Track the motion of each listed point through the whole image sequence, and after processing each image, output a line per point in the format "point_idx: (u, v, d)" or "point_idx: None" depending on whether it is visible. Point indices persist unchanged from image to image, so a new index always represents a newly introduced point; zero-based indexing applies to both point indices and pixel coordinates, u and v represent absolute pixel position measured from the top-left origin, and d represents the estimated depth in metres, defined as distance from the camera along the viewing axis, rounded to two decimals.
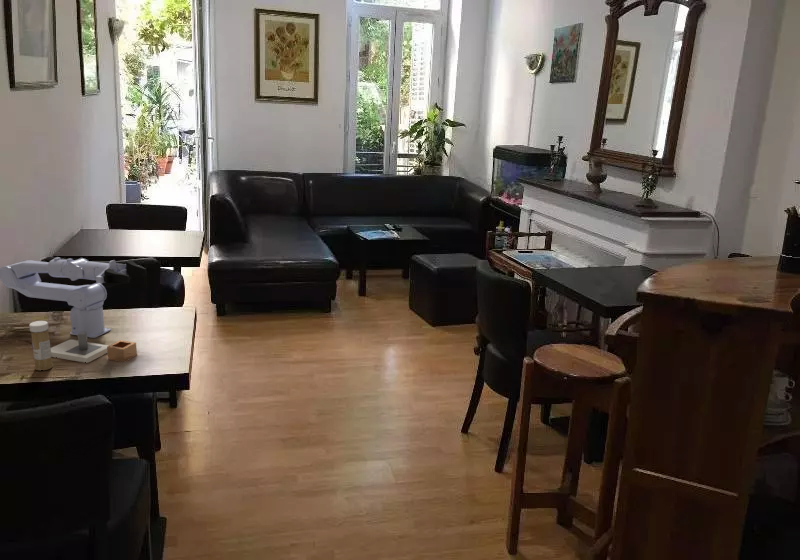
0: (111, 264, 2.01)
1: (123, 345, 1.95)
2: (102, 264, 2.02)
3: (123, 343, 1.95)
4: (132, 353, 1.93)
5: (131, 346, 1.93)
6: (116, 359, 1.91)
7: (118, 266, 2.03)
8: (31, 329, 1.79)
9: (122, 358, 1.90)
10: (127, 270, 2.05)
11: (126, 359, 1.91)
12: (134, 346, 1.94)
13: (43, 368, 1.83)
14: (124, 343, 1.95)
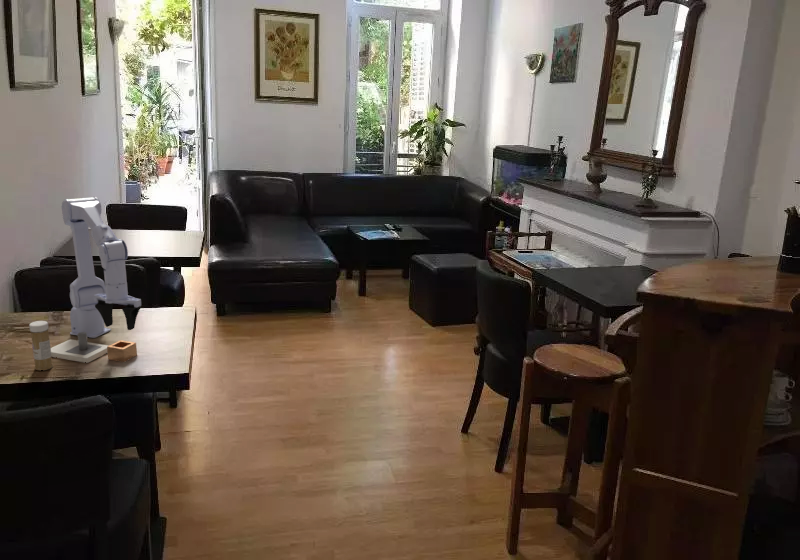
0: None
1: (123, 345, 1.95)
2: (107, 290, 1.85)
3: (123, 343, 1.95)
4: (132, 353, 1.93)
5: (131, 346, 1.93)
6: (116, 359, 1.91)
7: None
8: (31, 329, 1.79)
9: (122, 358, 1.90)
10: None
11: (126, 359, 1.91)
12: (134, 346, 1.94)
13: (43, 368, 1.83)
14: (124, 343, 1.95)
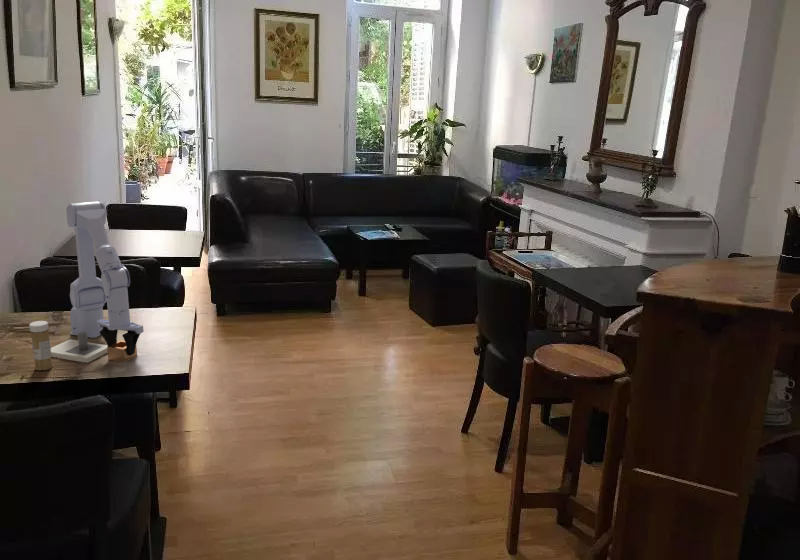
0: None
1: (123, 345, 1.95)
2: (110, 316, 1.88)
3: (123, 343, 1.95)
4: None
5: None
6: (116, 359, 1.91)
7: None
8: (31, 329, 1.79)
9: (122, 358, 1.90)
10: None
11: (126, 359, 1.91)
12: None
13: (43, 368, 1.83)
14: (124, 343, 1.95)
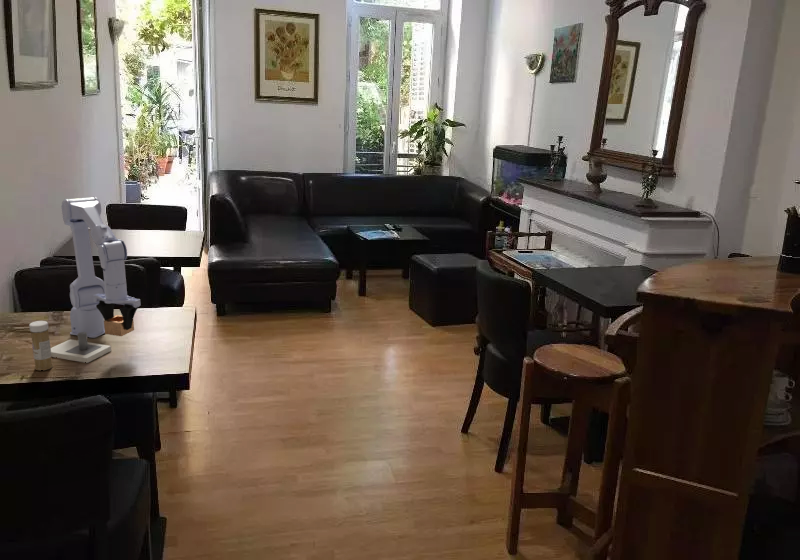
0: None
1: (120, 320, 1.93)
2: (106, 290, 1.85)
3: (120, 318, 1.92)
4: None
5: None
6: (113, 333, 1.89)
7: None
8: (31, 329, 1.79)
9: (119, 332, 1.88)
10: None
11: (123, 333, 1.89)
12: None
13: (43, 368, 1.83)
14: (121, 318, 1.92)
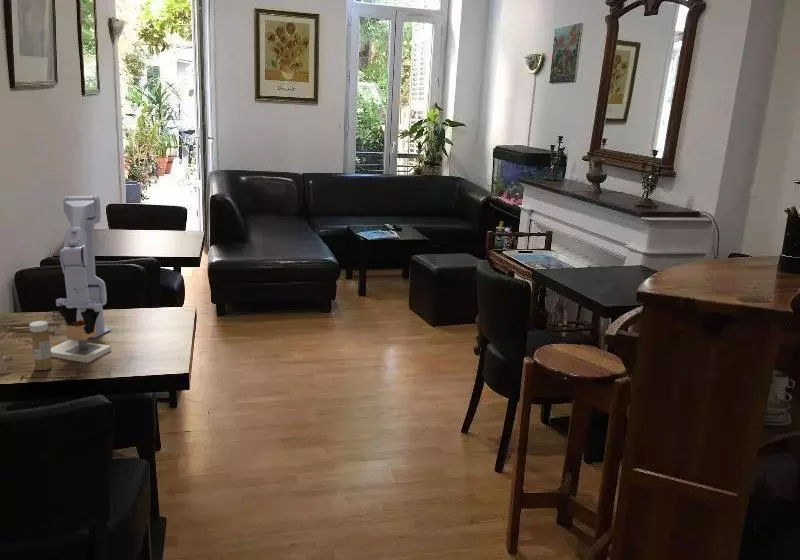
0: None
1: (83, 324, 1.95)
2: (68, 294, 1.87)
3: (83, 322, 1.94)
4: None
5: None
6: (75, 337, 1.91)
7: None
8: (31, 329, 1.79)
9: (81, 336, 1.90)
10: None
11: (85, 337, 1.91)
12: None
13: (43, 368, 1.83)
14: (84, 322, 1.94)
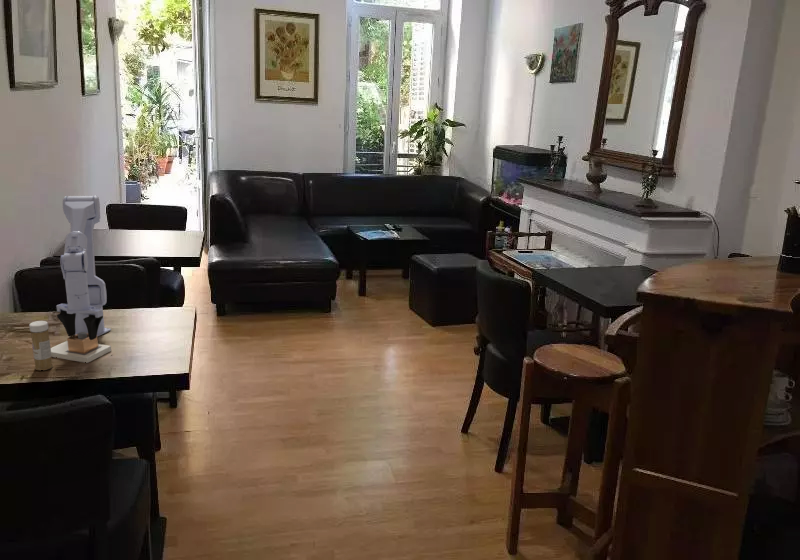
0: None
1: None
2: (69, 300, 1.88)
3: None
4: (93, 345, 1.94)
5: None
6: (76, 351, 1.92)
7: None
8: (31, 329, 1.79)
9: (82, 350, 1.91)
10: None
11: (86, 351, 1.92)
12: (95, 338, 1.95)
13: (43, 368, 1.83)
14: None
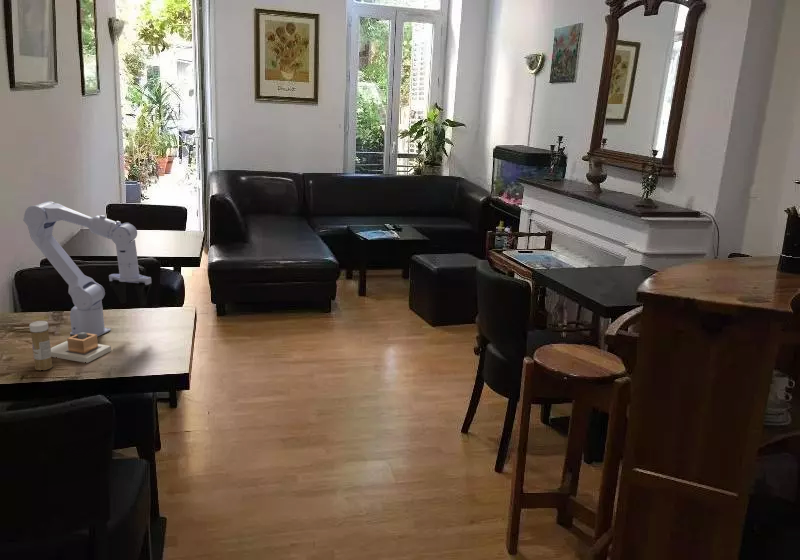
0: None
1: None
2: (120, 269, 2.03)
3: None
4: (93, 345, 1.94)
5: (91, 338, 1.93)
6: (76, 351, 1.92)
7: None
8: (31, 329, 1.79)
9: (82, 350, 1.91)
10: None
11: (86, 351, 1.92)
12: (95, 338, 1.95)
13: (43, 368, 1.83)
14: None
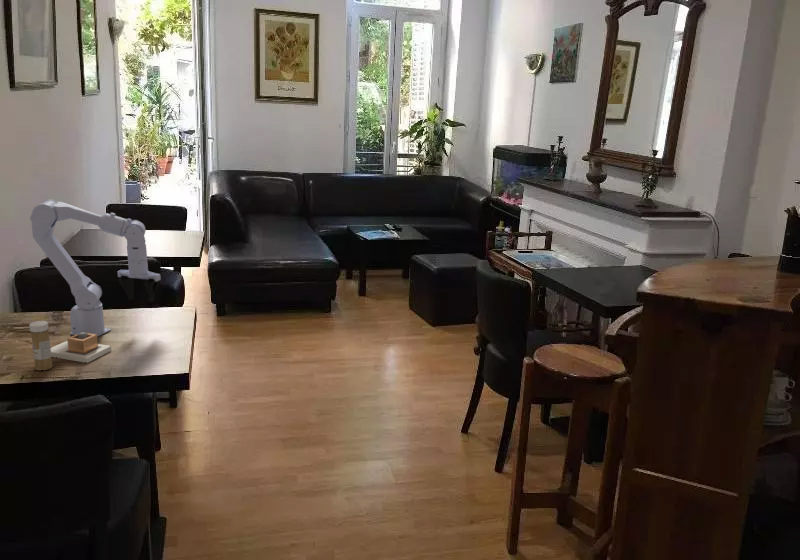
0: None
1: None
2: (130, 265, 2.07)
3: None
4: (93, 345, 1.94)
5: (91, 338, 1.93)
6: (76, 351, 1.92)
7: None
8: (31, 329, 1.79)
9: (82, 350, 1.91)
10: None
11: (86, 351, 1.92)
12: (95, 338, 1.95)
13: (43, 368, 1.83)
14: None
